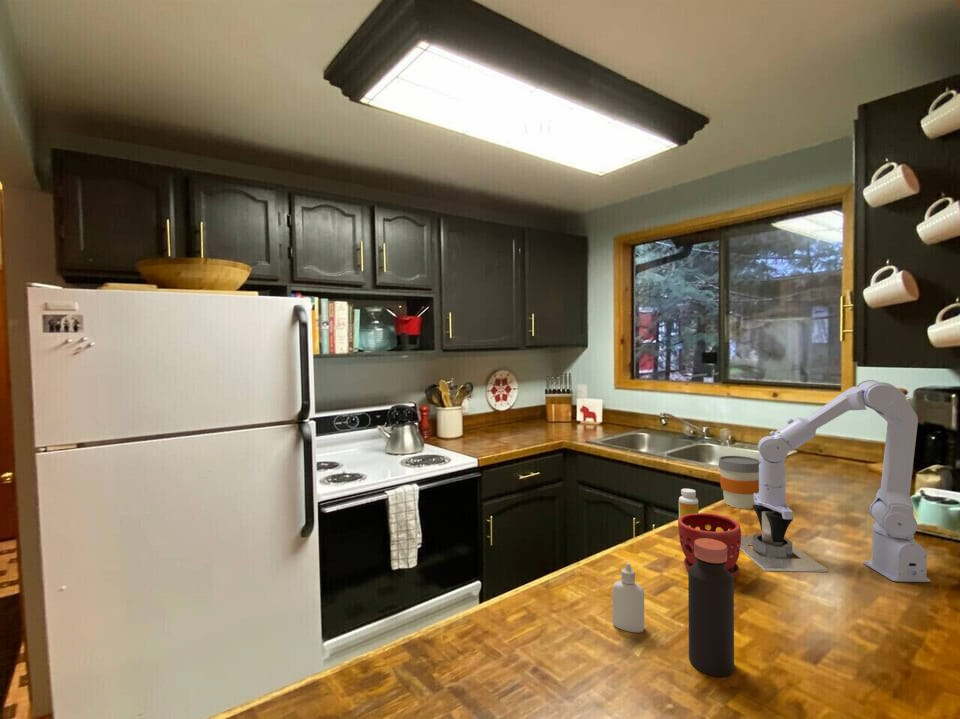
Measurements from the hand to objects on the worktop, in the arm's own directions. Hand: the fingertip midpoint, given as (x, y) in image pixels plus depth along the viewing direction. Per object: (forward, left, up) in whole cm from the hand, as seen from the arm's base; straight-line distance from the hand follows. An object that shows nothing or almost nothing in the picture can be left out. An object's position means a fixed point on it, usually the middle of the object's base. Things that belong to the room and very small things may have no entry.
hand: (772, 537), depth 120 cm
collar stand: (0, 0, -4) cm, 4 cm away
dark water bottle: (-44, +33, -4) cm, 55 cm away
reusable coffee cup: (+38, -10, -4) cm, 39 cm away
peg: (0, 0, -3) cm, 3 cm away
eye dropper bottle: (-34, +44, -4) cm, 56 cm away
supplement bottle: (+21, +13, -4) cm, 25 cm away
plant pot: (-11, +20, -4) cm, 23 cm away
